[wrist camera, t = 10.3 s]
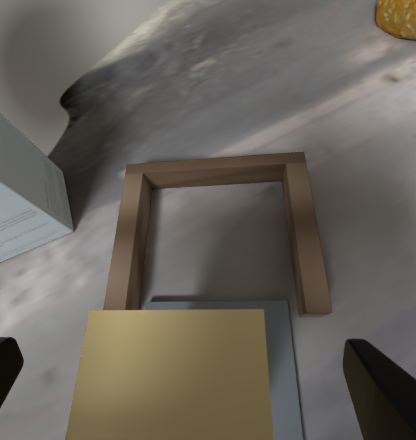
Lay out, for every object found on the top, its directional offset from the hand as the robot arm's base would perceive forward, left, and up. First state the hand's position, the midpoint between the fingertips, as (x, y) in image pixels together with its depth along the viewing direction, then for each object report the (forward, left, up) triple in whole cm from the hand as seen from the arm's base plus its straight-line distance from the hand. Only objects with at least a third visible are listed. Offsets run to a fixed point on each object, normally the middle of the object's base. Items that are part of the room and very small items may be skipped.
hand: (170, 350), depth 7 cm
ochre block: (-2, 0, -12) cm, 12 cm away
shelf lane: (+8, 0, -12) cm, 15 cm away
